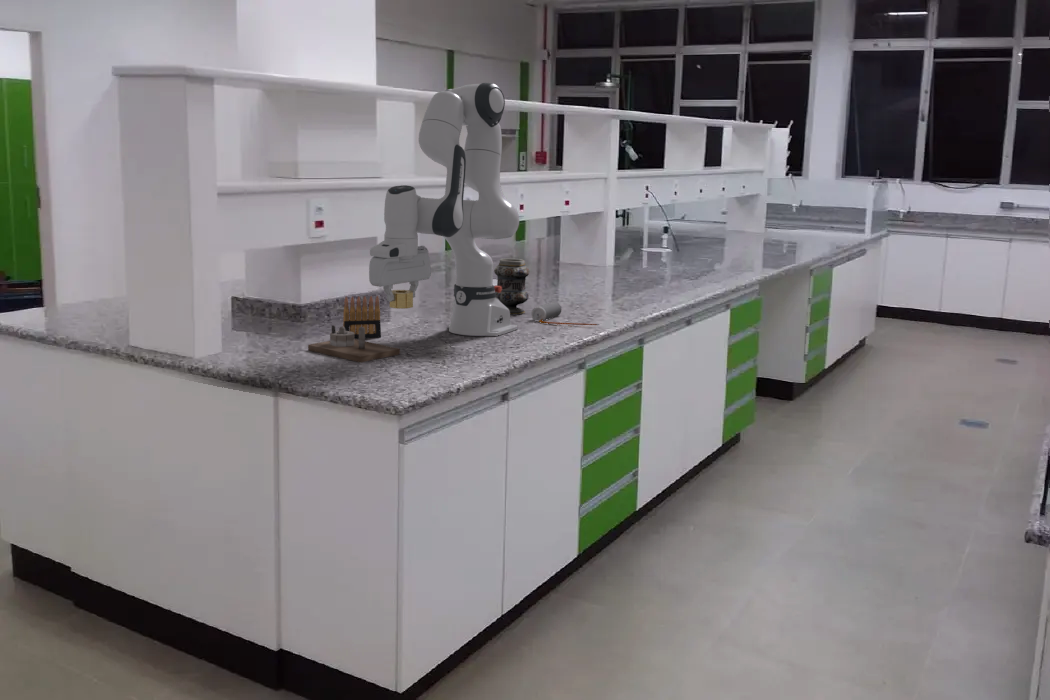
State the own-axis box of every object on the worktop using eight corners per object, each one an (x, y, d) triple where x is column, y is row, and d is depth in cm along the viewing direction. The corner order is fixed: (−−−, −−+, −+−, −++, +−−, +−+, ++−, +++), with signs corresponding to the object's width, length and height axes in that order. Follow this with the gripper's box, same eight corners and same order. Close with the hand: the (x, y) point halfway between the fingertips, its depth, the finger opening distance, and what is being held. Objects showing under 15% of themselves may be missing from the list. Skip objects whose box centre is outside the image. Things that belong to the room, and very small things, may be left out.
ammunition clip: (343, 338, 265) (343, 296, 263) (342, 337, 267) (342, 295, 264) (381, 337, 269) (381, 296, 266) (379, 336, 270) (379, 295, 268)
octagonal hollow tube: (401, 303, 257) (401, 289, 256) (417, 306, 253) (417, 291, 252) (384, 306, 252) (384, 291, 251) (401, 309, 248) (401, 294, 248)
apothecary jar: (531, 310, 323) (533, 258, 319) (523, 316, 311) (525, 262, 307) (497, 308, 325) (499, 256, 321) (488, 313, 314) (489, 260, 310)
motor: (524, 321, 302) (527, 306, 300) (552, 312, 321) (555, 298, 320) (590, 341, 293) (594, 326, 292) (615, 330, 313) (618, 316, 311)
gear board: (347, 342, 260) (347, 316, 258) (399, 354, 248) (400, 327, 246) (308, 350, 249) (307, 323, 247) (360, 362, 237) (360, 334, 235)
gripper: (419, 243, 259) (419, 293, 262) (364, 249, 243) (365, 302, 246) (436, 246, 255) (436, 296, 259) (382, 252, 239) (382, 305, 243)
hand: (401, 299), depth 252 cm, fingers closed on octagonal hollow tube, 6 cm apart
